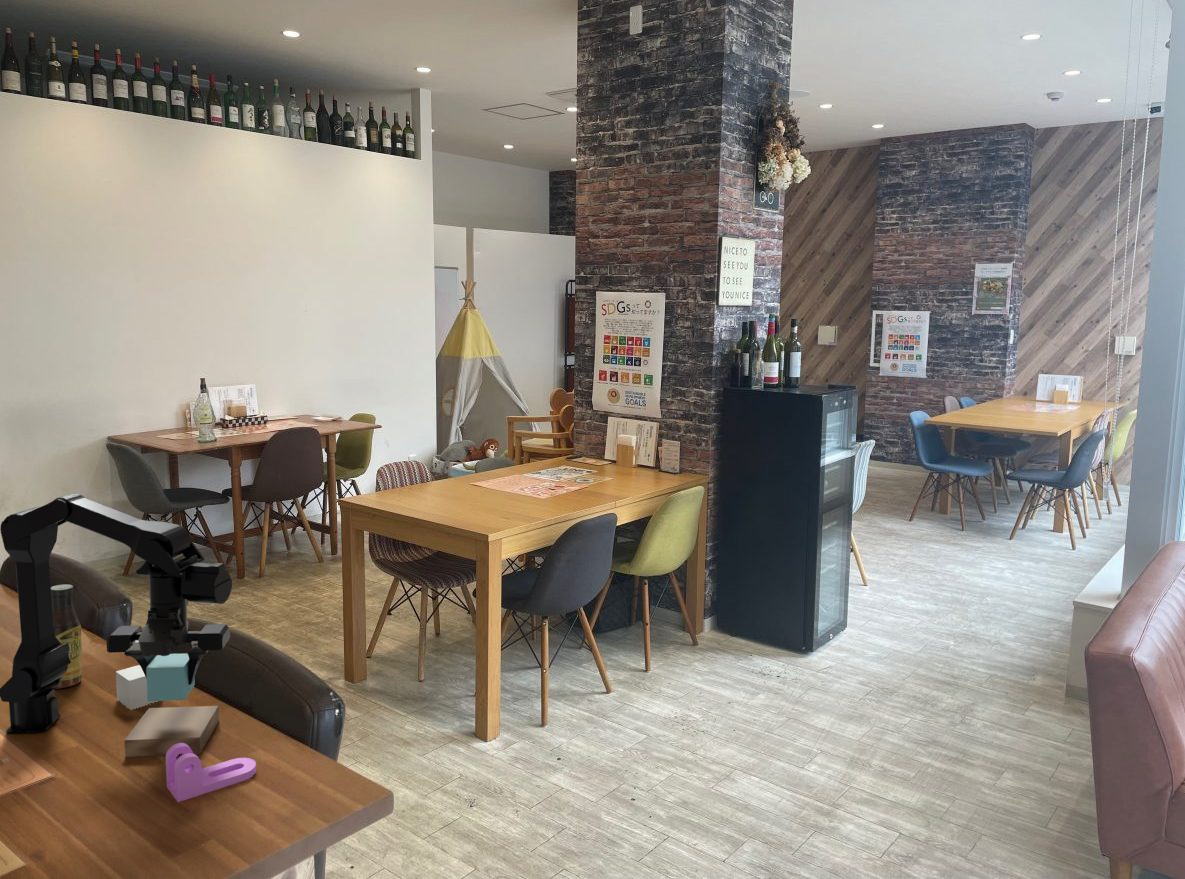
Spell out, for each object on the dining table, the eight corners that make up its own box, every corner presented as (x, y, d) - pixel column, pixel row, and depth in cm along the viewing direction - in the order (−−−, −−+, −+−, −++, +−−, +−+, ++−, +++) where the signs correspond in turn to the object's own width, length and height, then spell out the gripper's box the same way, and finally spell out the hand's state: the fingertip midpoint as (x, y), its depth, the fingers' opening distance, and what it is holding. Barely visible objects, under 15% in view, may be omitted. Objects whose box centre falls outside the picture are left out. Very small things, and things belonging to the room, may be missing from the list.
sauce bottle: (66, 691, 173) (60, 594, 170) (38, 688, 174) (32, 591, 171) (91, 678, 179) (86, 584, 176) (64, 674, 181) (59, 581, 178)
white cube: (117, 701, 170) (115, 671, 169) (149, 691, 175) (147, 662, 174) (130, 710, 166) (129, 680, 165) (163, 700, 171) (161, 671, 170)
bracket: (177, 803, 137) (176, 761, 136) (166, 787, 141) (165, 746, 140) (261, 775, 146) (260, 736, 145) (248, 762, 150) (247, 723, 149)
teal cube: (147, 701, 152) (146, 667, 151) (159, 686, 158) (157, 654, 157) (184, 700, 153) (183, 667, 152) (194, 685, 159) (193, 653, 158)
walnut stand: (125, 756, 150) (124, 740, 149) (149, 723, 161) (149, 708, 161) (200, 753, 152) (199, 737, 151) (218, 721, 163) (218, 705, 163)
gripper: (91, 616, 143) (95, 707, 146) (212, 614, 146) (215, 703, 148) (117, 593, 154) (121, 678, 157) (229, 592, 157) (231, 675, 159)
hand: (171, 684), depth 155 cm, fingers closed on teal cube, 6 cm apart
